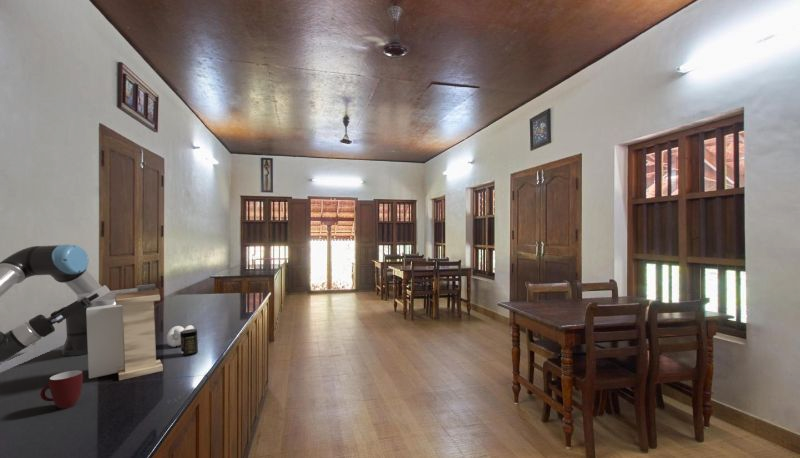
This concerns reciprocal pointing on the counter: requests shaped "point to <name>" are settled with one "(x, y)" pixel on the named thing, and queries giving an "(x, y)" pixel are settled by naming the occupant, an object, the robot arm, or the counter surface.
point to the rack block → (104, 340)
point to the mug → (64, 388)
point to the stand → (138, 333)
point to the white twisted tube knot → (176, 335)
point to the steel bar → (119, 292)
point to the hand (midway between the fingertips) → (107, 288)
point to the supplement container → (189, 342)
